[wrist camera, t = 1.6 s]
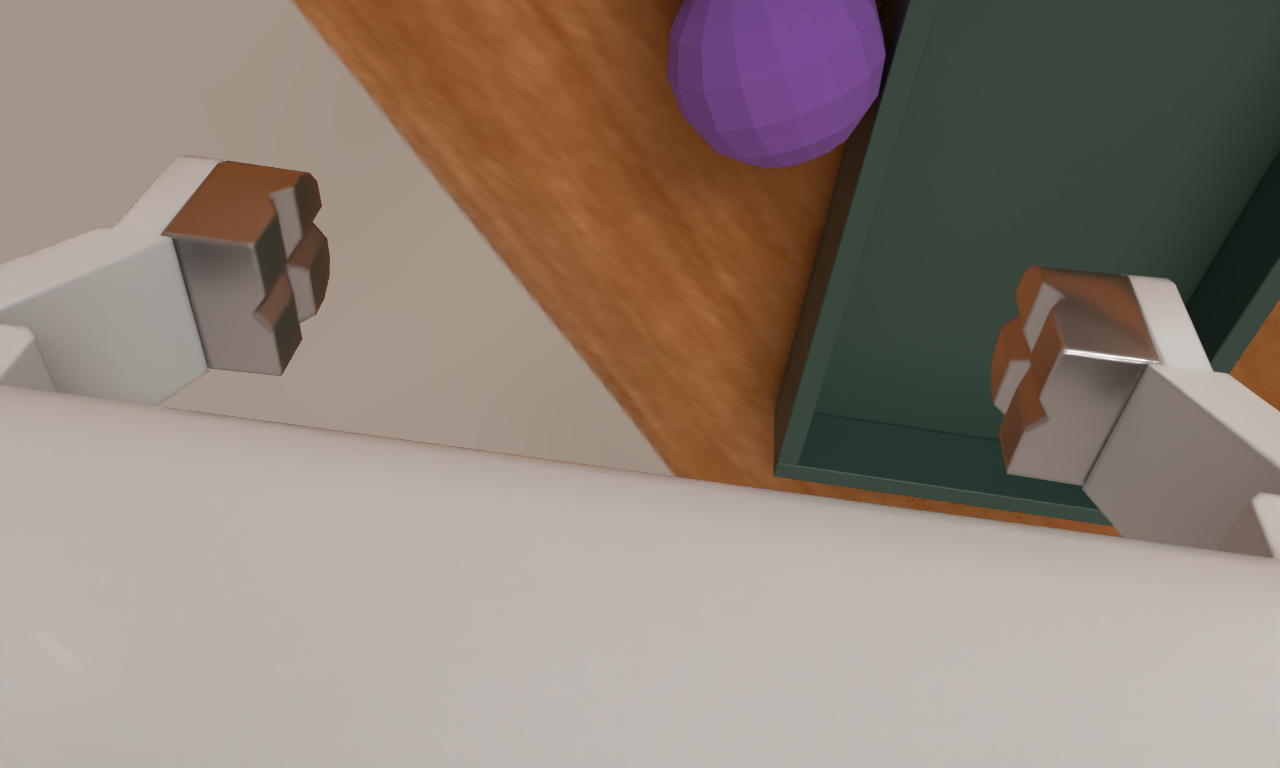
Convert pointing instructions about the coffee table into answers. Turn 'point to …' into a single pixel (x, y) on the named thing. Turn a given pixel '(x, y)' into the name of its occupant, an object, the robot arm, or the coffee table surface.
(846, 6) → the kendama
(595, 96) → the coffee table surface
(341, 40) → the coffee table surface
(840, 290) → the tray
